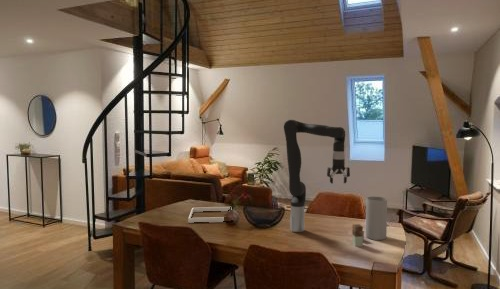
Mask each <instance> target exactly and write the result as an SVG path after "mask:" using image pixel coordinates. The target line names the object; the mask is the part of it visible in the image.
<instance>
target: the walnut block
mask: <svg viewBox="0 0 500 289" xmlns="http://www.w3.org/2000/svg"><path fill="white" fill-rule="evenodd" d="M363 229H364V226H363V225H361V224H359V223H356V224H353V223H352V236H353V235H354V236H355V237H362V236H363V231H364V230H363Z"/></svg>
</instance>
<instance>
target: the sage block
mask: <svg viewBox="0 0 500 289" xmlns="http://www.w3.org/2000/svg"><path fill="white" fill-rule="evenodd" d="M363 242H364V241H363V236H362V237H355V236H354V235H353V234H352V243H351V244H352V245H353V246H354V247H355V248H356V247H357V248H358V247H364V246H363Z"/></svg>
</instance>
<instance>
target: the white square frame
mask: <svg viewBox="0 0 500 289" xmlns="http://www.w3.org/2000/svg"><path fill="white" fill-rule="evenodd" d="M230 207H231V206H208V207H204V206H203V207H202V206H201V207H192V208H191V209H190V213H189V215H188V218H187V223H188V224H193V223H194V222H209V223H224V222H223V221H224V217H225V216H219V217H218V216H215V217H214V216H213V217H212V216H211V217H210V216H208V217H193V215H194V213H204V212H203V211H221V212H229V211H228V210H229V209H230ZM192 214H193V215H192ZM191 217H192V218H191ZM194 224H195V223H194Z"/></svg>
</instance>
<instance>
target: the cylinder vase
mask: <svg viewBox="0 0 500 289" xmlns="http://www.w3.org/2000/svg"><path fill="white" fill-rule="evenodd" d="M365 204H366V205H365V237H366V238H367V239H370V240H373V241H384V240H385V239H387V231H388V230H387V227H388V226H387V225H388V223H387V222H388V220H387V219H388V198H387V197H382V196H367V197H366V199H365Z"/></svg>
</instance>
